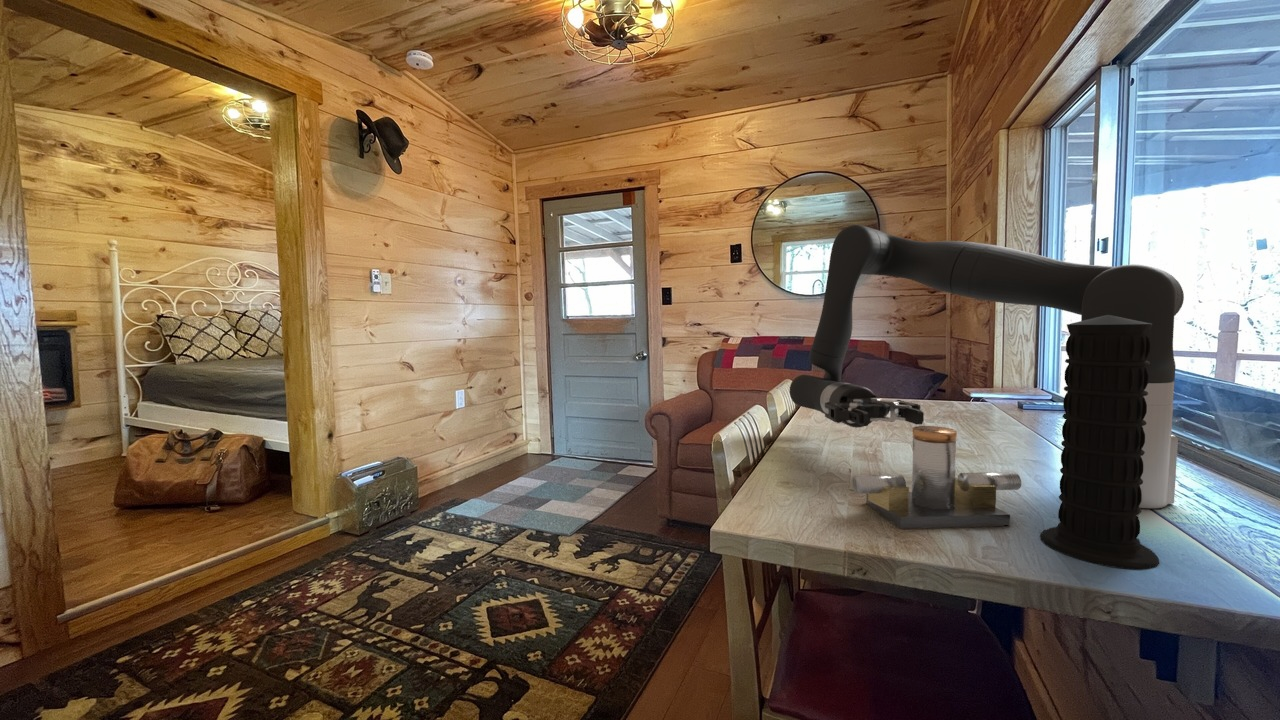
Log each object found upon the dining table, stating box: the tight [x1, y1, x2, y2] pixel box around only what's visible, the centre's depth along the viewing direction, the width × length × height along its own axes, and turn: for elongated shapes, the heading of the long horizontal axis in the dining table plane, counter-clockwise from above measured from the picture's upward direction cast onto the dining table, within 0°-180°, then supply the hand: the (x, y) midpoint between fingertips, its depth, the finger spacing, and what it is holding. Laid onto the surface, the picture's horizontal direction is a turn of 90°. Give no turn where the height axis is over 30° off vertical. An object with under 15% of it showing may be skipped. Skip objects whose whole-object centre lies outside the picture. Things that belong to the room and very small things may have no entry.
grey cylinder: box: [911, 425, 958, 509], centre depth 67 cm, size 5×5×10 cm
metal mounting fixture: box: [852, 471, 1022, 530], centre depth 67 cm, size 22×9×6 cm, turn 91°
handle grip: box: [1039, 315, 1161, 570], centre depth 56 cm, size 10×26×10 cm
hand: (893, 418), depth 77 cm, fingers open, 8 cm apart
